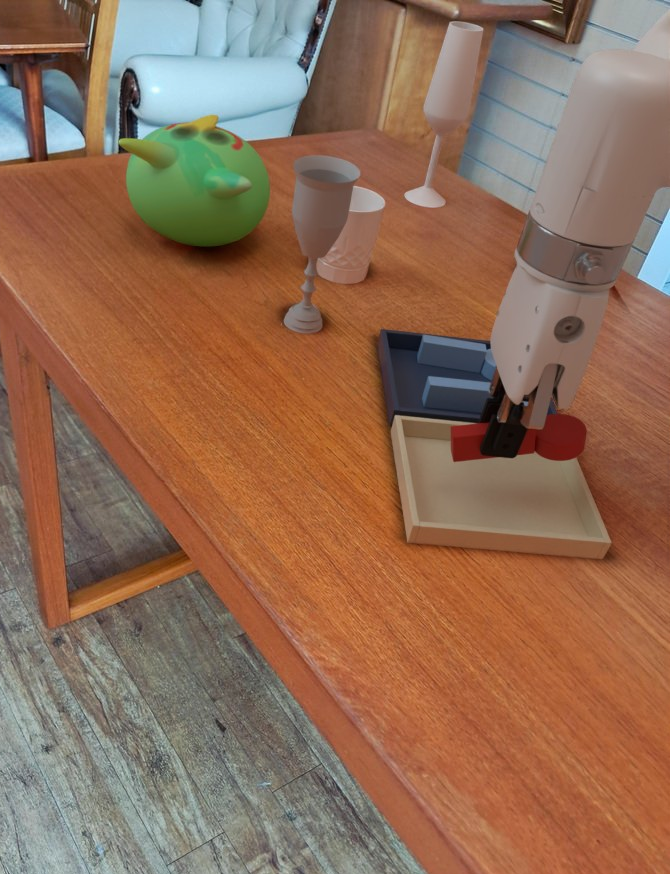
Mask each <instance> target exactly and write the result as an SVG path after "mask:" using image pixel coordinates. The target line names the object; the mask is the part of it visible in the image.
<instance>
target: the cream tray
mask: <svg viewBox="0 0 670 874" xmlns="http://www.w3.org/2000/svg"><path fill="white" fill-rule="evenodd" d="M468 424H477V423H469V422H459V421H449V420H439V419H429V418H419V417H409V416H399V415H395V417H394V421H393V424H392V427H390V428H391V429H390V439H391V443H392V450H393V456H394V457H393V458H394V463H395V471H396V476H397V483H398V489H399V495H400V502H401V511H402V515H403V522H404V529H405V534H406V535H405V537H406V541H407V543H409V544H418V545H419V544H420V545H421V544H422V545H430V546H431V545H432V546H444V547H455V548H466V549H476V550H477V549H478V550H488V551H489V550H490V551H500V552H511V553H512V552H513V553H522V554H523V553H525V554H535V555H547V556H559V557H572V558H583V559H594V560H603V559H604V558H605V556H606V554H607V553H608V550H609V549H610V547H611V545H612V543H613V542H612V539H611V537H610V534H609V533H608V530H607V528H606V525H605V523H604V520H603V518H602V516H601V514H600V511H599V508H598V507H597V504H596V502H595V499H594V496H593V493H592V492H591V489H590V487H589V484H588V482H587V480H586V478H585V475H584V472H583V470H582V468H581V465H580V463H579V461H578V457H576V458H574V459H571V460H566V461H554V460H549V459H546V458H543V457H541V456H540V455H538V454H537V453H536V452H534V453H533V454H524V455H517V456H516V457H515V458H503V457H496V458H487V459H478V460H469V461H460V462H453V458H452V454H451V426H459V425H468Z"/></svg>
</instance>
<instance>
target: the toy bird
mask: <svg viewBox="0 0 670 874" xmlns="http://www.w3.org/2000/svg"><path fill="white" fill-rule="evenodd" d="M218 121H219V116H218V114H208V115H205V116H202V117H199V118H196V119H195V120H192V121H190V122H178V123H172V124H168V125H165V126H162V127H159V128H156V129H155V130H152V131H150V133H148V134H146V135H145V136H144V137H143V138H142V139H141V138H131V137H125V138H123V137H122V138H120V139H118V142H117V143H118V145H119V146H120V147H121V148H122V149H123V150H125V151H127V152H128V153H130V154H131V155H130V157H129V160H128V162H127V166H126V172H125V185H126V191H127V195H128V198H129V201H130V204H131V205H132V208H133V209H134V211H135V212H136V214H137V215H138V217H139V218H140V219H141V220H142V221H143V222H144V224H145V225H147V226H148V227H149V228H150V229H152V230H153V231H154V232H155V233H157V234H159V235H160V236H162V237H165V238H167V239H169V240H171V241H174V242H175V243H176V242H177V243H180V244H184V245H187V246H192V247H193V246H194V247H203V248H204V247H208V248H209V247H219V246H224V245H228V244H232V243H234V242H237V241H239V240H241V239H244V238H245V237H246V236H248V235H249V234H250V233H251V232H253V231H254V230H255V228H257V226H259V224H260V223H261V221H262V220H263V218H264V216H265V214H266V212H267V209H268V206H269V202H270V195H271V184H270V183H271V182H270V177H269V173H268V170H267V167H266V164H265V163H264V161H263V159H262V157H261V156H260V155H259V153H258V152H257V150H256V149H255V148H254V147H253V145H251V144H250V143H249V142H247V141H246V140H245V139H243V138H242V137H240V135H237V134H236V133H233V132H232V131H230V130H228V129H225V128H222V127H220V126H217V124H218Z"/></svg>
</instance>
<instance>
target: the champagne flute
mask: <svg viewBox="0 0 670 874" xmlns="http://www.w3.org/2000/svg"><path fill="white" fill-rule="evenodd" d="M483 34H484V28H483V27H482V26H480V25H478V24H475V23H471V22H466V21H455V20H454V21H449V23H448V26H447V29H446V33H445V35H444V39H443V41H442V45H441V49H440V52H439V55H438V57H437V58H438V59H437V61H436V64H435V68H434V71H433V74H432V77H431V81H430V83H429V88H428V91H427V94H426V97H425V101H424V103H423V109H422V111H423V115H424V118H425V120H426V122H427V124H428V125H429V127H430V128H431V130H432V131H433V132H434V133H435V139H434V143H433V147H432V150H431V156H430V160H429V163H428V168H427V171H426V176H425V180H424V184H423V185H422V186H419V187H416V188H413V189H410V190H408V191H405V192H404V194H403V196H404V198H405V199H406V200H407V202H409V203H412V204H413V205H416V206H420V207H423V208H430V209H432V208H433V209H435V208H436V209H437V208H441V207H444V206H445V205H446V204H447V202H446V200H445V198H444V197H443V196H442V195H441V194H439V192H437V191H436V190H435V189H434V188H433V183H434V178H435V175H436V171H437V166H438V162H439V158H440V154H441V151H442V146H443V142H444V138H445V136H448V135H450V134H451V133H453V132H454V131H456V130H457V129H459V128H460V127H461V126H463V125H464V123H465V122H466V121H467V119H469V115H470V111H471V105H472V100H473V99H472V98H473V93H474V88H475V87H474V86H475V82H476V76H477V75H476V74H477V69H478V65H479V64H478V62H479V58H480V52H481V45H482V39H483Z"/></svg>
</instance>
